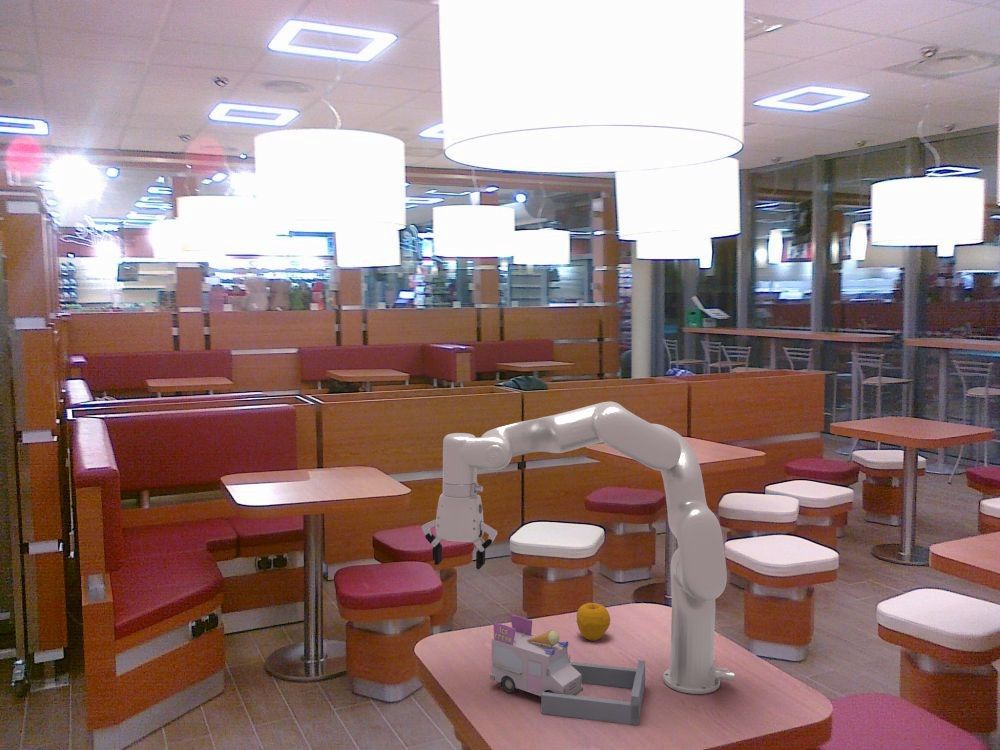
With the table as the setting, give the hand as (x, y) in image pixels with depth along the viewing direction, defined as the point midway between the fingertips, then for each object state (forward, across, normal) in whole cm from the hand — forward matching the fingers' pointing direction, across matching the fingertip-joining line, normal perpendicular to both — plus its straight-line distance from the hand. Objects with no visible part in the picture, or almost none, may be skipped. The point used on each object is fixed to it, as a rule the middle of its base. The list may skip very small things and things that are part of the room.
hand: (458, 565), depth 193 cm
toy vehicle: (+27, -18, 0) cm, 33 cm away
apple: (+27, -26, -34) cm, 50 cm away
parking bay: (+27, -31, 0) cm, 41 cm away
